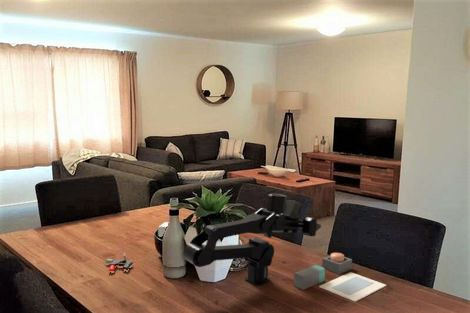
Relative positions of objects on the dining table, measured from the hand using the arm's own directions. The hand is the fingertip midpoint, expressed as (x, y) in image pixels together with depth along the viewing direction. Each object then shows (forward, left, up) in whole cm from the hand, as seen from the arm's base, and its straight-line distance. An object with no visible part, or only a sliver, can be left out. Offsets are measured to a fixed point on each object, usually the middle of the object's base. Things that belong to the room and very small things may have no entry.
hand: (311, 224), depth 161 cm
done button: (+5, -9, -14) cm, 17 cm away
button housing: (+5, -9, -16) cm, 18 cm away
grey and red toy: (-58, +43, -16) cm, 74 cm away
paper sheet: (-4, -22, -16) cm, 27 cm away
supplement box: (-35, +42, -16) cm, 57 cm away
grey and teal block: (-13, -11, -16) cm, 23 cm away
